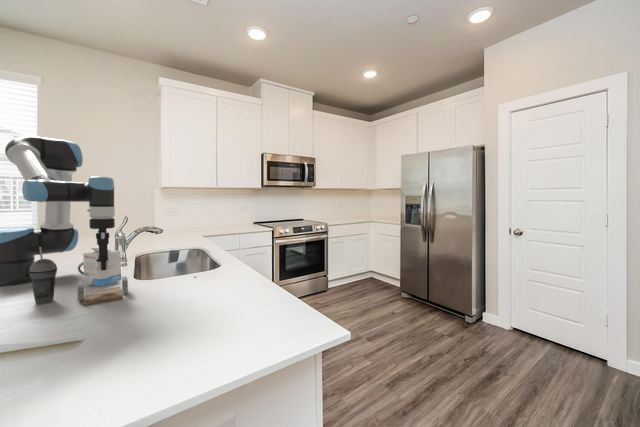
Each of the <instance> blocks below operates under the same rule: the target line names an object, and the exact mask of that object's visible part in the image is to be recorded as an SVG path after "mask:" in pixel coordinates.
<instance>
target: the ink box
mask: <svg viewBox="0 0 640 427" xmlns="http://www.w3.org/2000/svg"><path fill="white" fill-rule="evenodd" d="M90 248H91V250H92V251H90V252H84V253H82V256H83V262H84V265H83V272H84V275H83V278H84V279H83V285H90V286H96V287H97V286H98V287H101V286H105V285H109V284H112V283H115V282H118V281H122V263H121V260H122V259H121V251H120V250H112V249H108V278H105V279H99V262H97V261H96V259H99V247H98V248H96V247H90Z"/></svg>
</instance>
